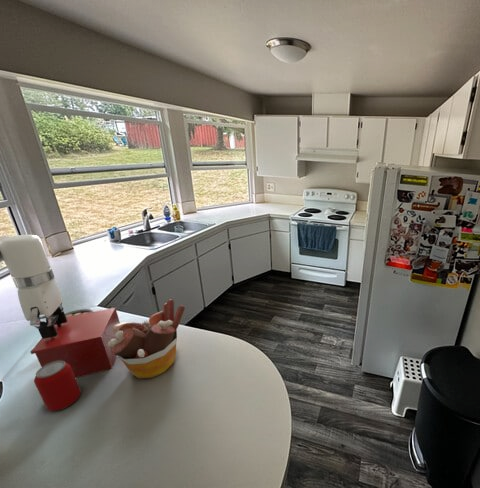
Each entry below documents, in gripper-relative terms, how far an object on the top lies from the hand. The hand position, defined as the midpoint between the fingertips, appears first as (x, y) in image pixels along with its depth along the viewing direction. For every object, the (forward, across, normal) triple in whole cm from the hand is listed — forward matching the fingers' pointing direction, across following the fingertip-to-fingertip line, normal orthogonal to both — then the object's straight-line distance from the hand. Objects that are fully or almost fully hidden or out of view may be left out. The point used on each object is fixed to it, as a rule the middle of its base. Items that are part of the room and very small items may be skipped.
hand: (55, 329), depth 77 cm
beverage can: (+14, +17, +5) cm, 22 cm away
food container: (+14, -14, -1) cm, 20 cm away
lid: (+2, 0, +5) cm, 5 cm away
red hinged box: (+13, 0, +6) cm, 15 cm away
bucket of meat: (+14, +12, +26) cm, 31 cm away
